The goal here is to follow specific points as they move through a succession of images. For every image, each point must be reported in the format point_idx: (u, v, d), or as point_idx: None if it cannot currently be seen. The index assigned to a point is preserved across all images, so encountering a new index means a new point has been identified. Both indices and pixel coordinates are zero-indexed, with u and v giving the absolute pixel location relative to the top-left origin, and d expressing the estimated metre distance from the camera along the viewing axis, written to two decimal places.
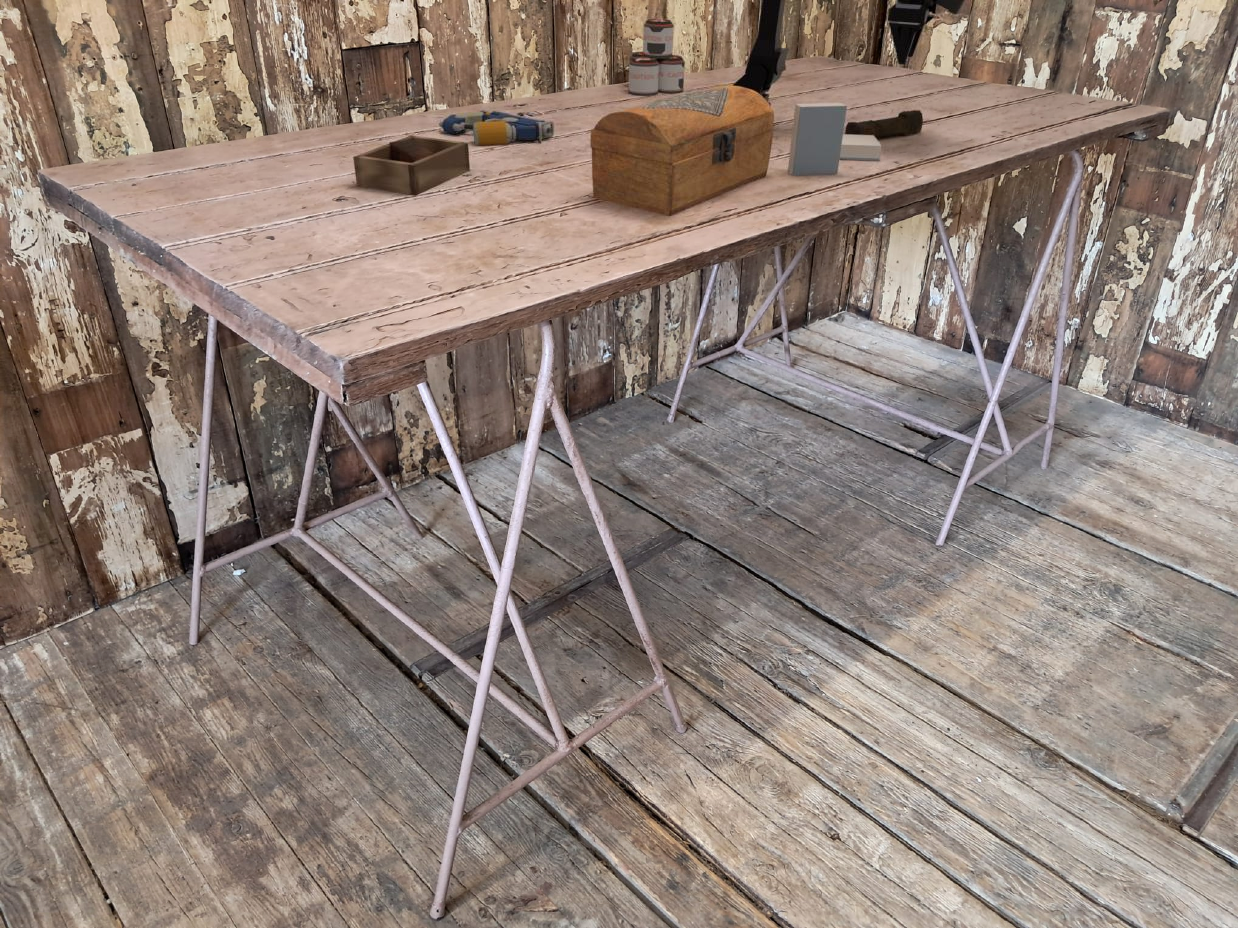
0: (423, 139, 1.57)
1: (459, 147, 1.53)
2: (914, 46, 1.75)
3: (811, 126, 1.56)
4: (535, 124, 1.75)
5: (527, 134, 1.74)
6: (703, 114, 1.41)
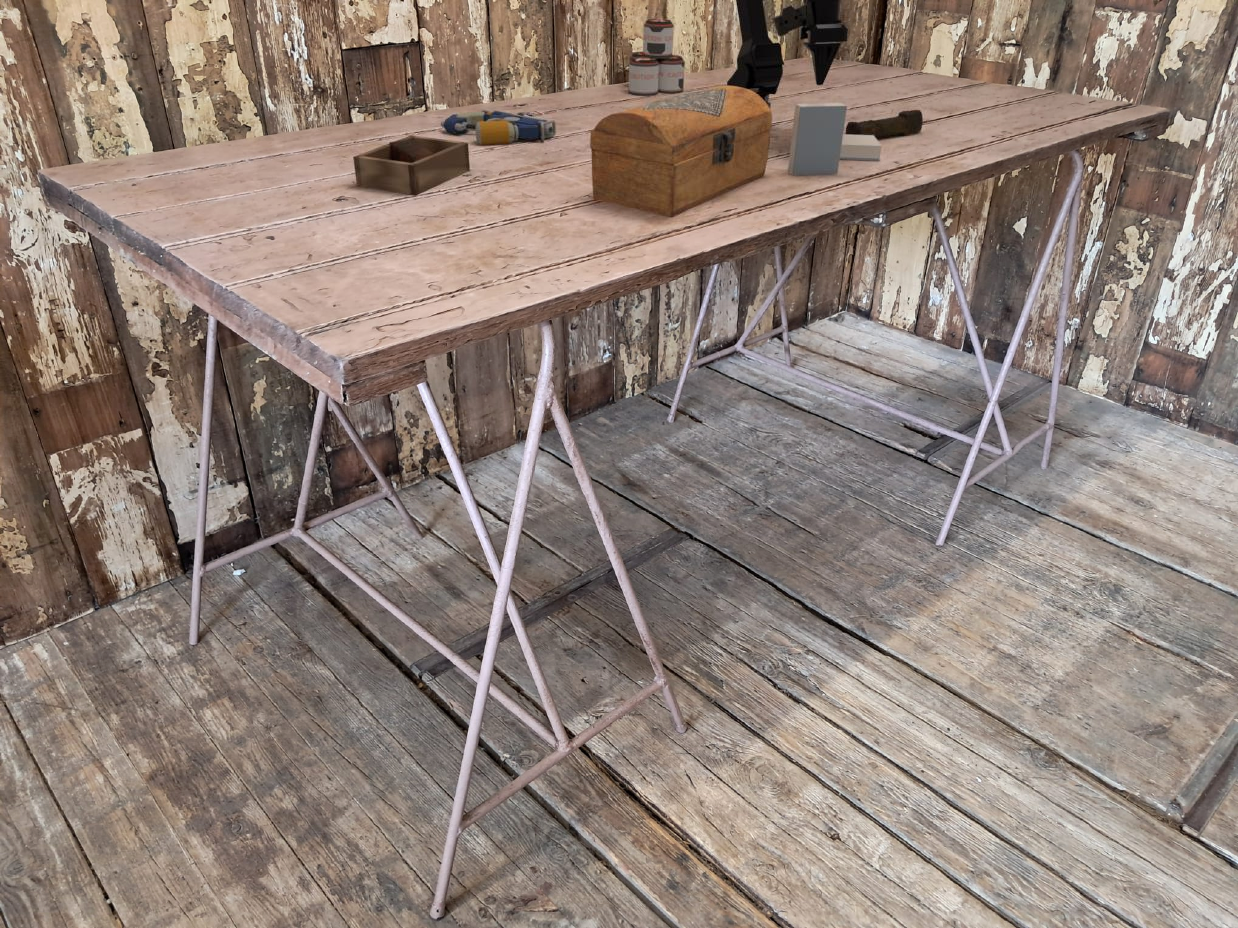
0: (423, 139, 1.57)
1: (459, 147, 1.53)
2: None
3: (811, 126, 1.56)
4: (537, 123, 1.76)
5: (530, 133, 1.74)
6: (703, 115, 1.41)
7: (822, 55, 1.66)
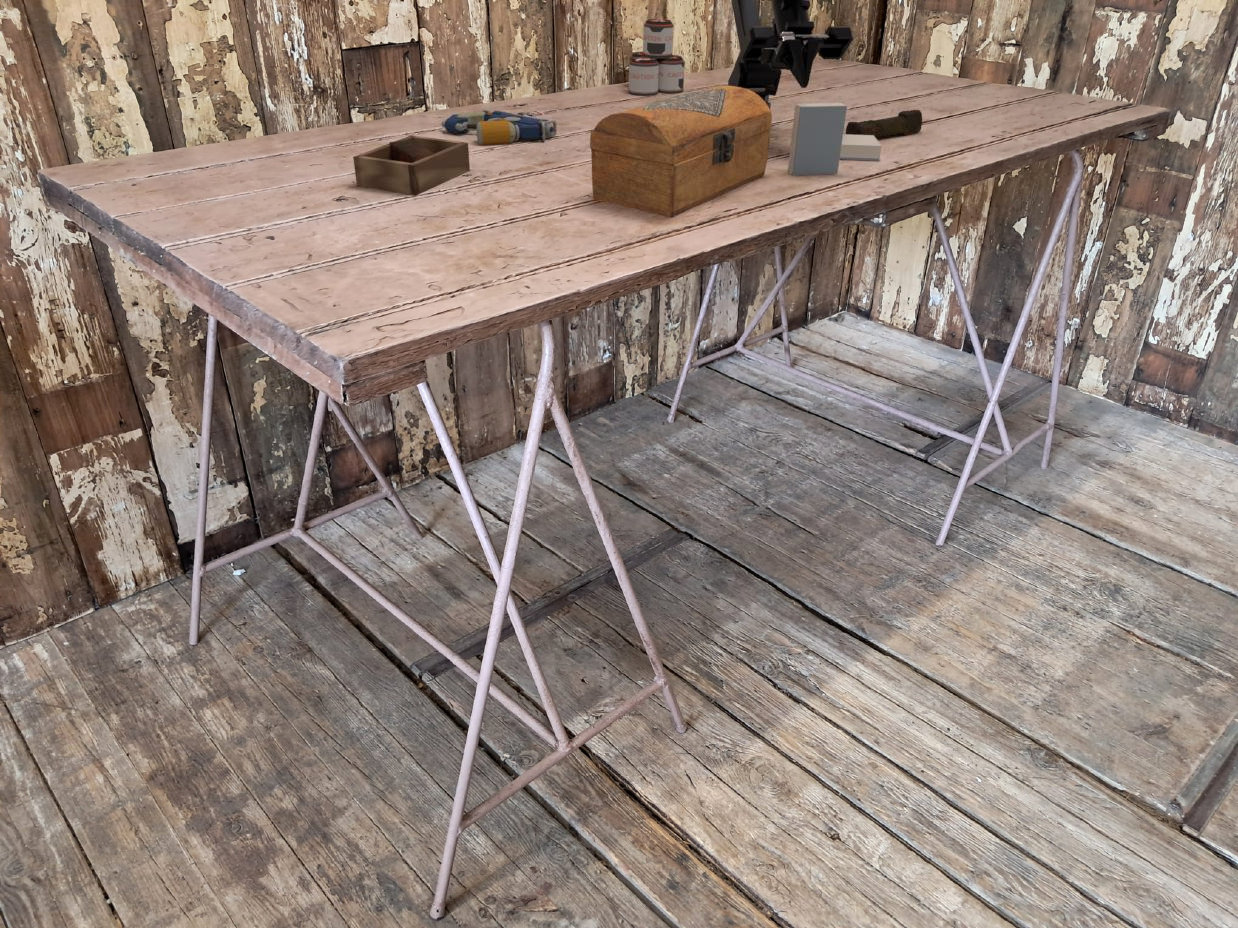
0: (423, 139, 1.57)
1: (459, 147, 1.53)
2: None
3: (811, 126, 1.56)
4: (538, 123, 1.76)
5: (531, 133, 1.75)
6: (702, 115, 1.41)
7: (792, 60, 1.63)
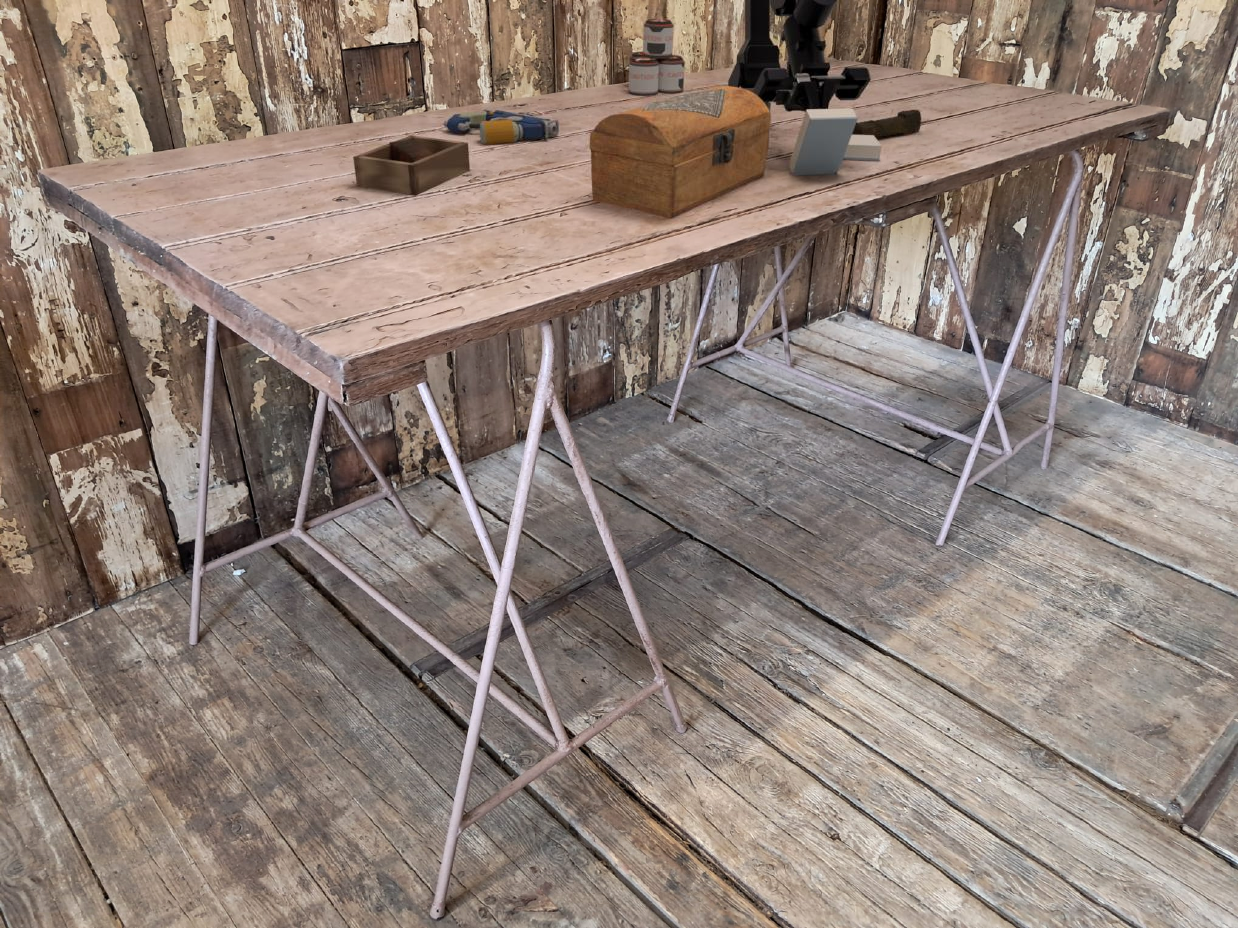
0: (423, 139, 1.57)
1: (459, 147, 1.53)
2: None
3: (818, 135, 1.54)
4: (541, 122, 1.77)
5: (534, 132, 1.75)
6: (702, 116, 1.41)
7: (808, 102, 1.58)
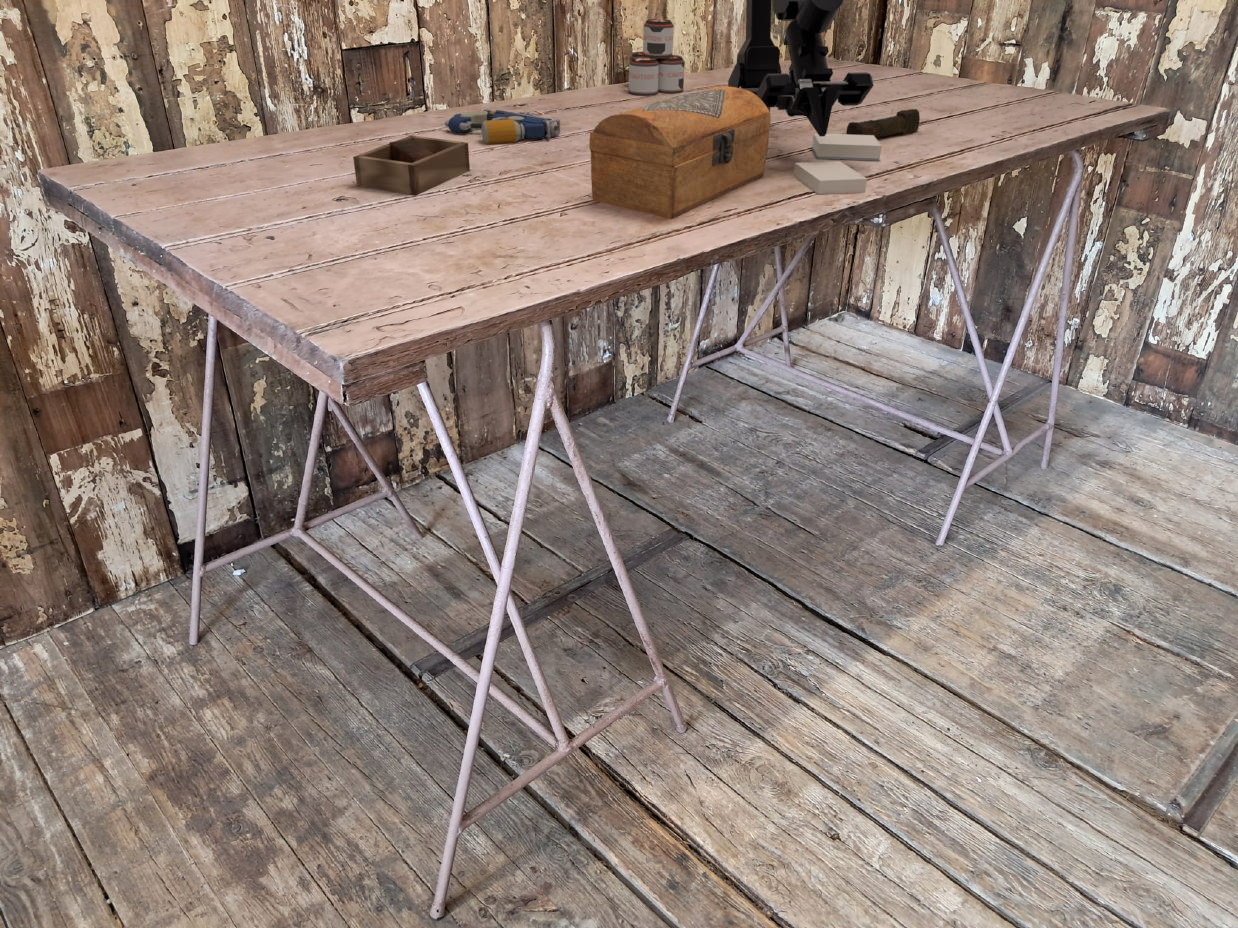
0: (423, 139, 1.57)
1: (459, 147, 1.53)
2: None
3: None
4: (542, 122, 1.77)
5: (536, 132, 1.75)
6: (702, 116, 1.40)
7: (810, 108, 1.57)
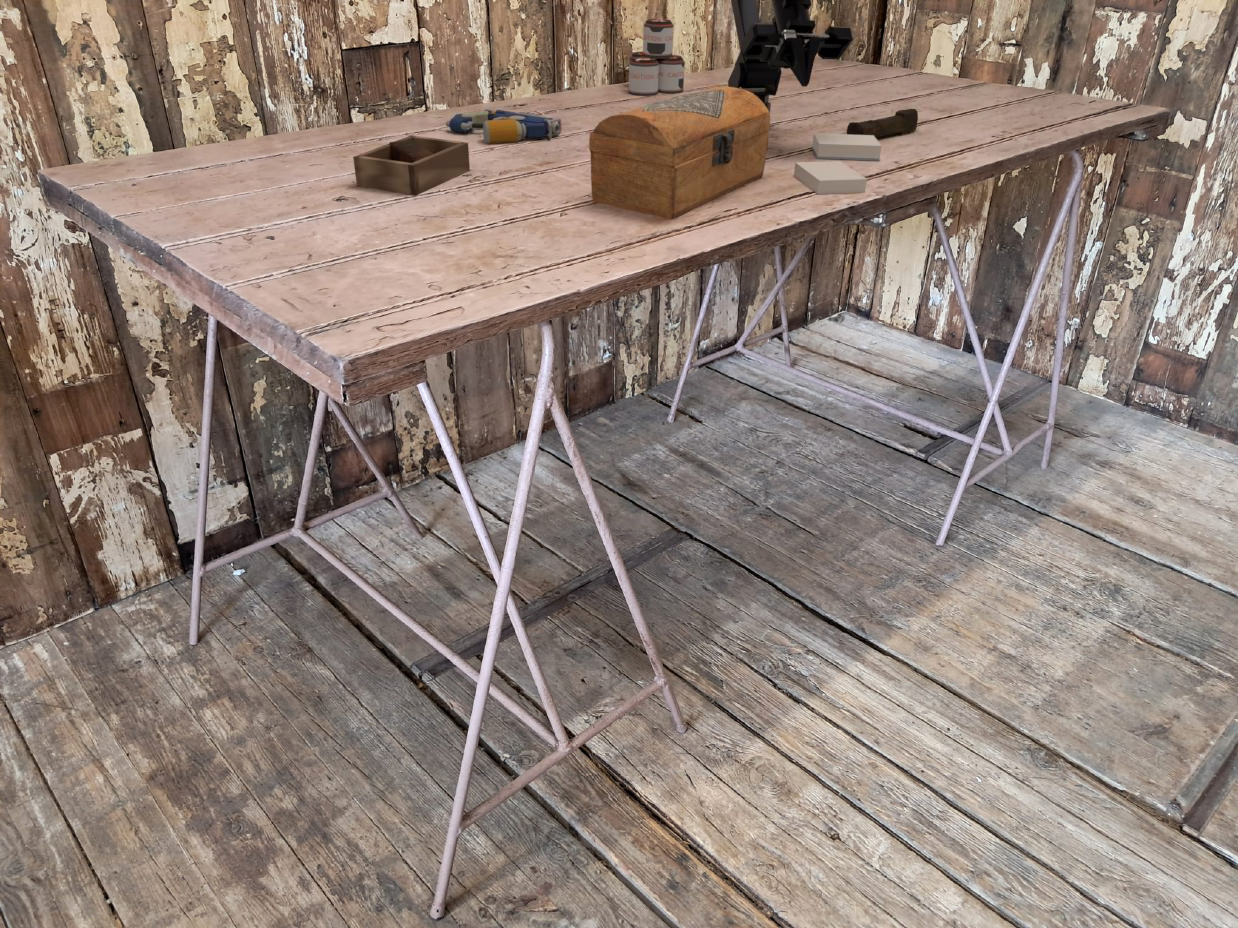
0: (423, 139, 1.57)
1: (459, 147, 1.53)
2: None
3: None
4: (544, 121, 1.77)
5: (537, 131, 1.76)
6: (702, 116, 1.40)
7: (793, 59, 1.63)
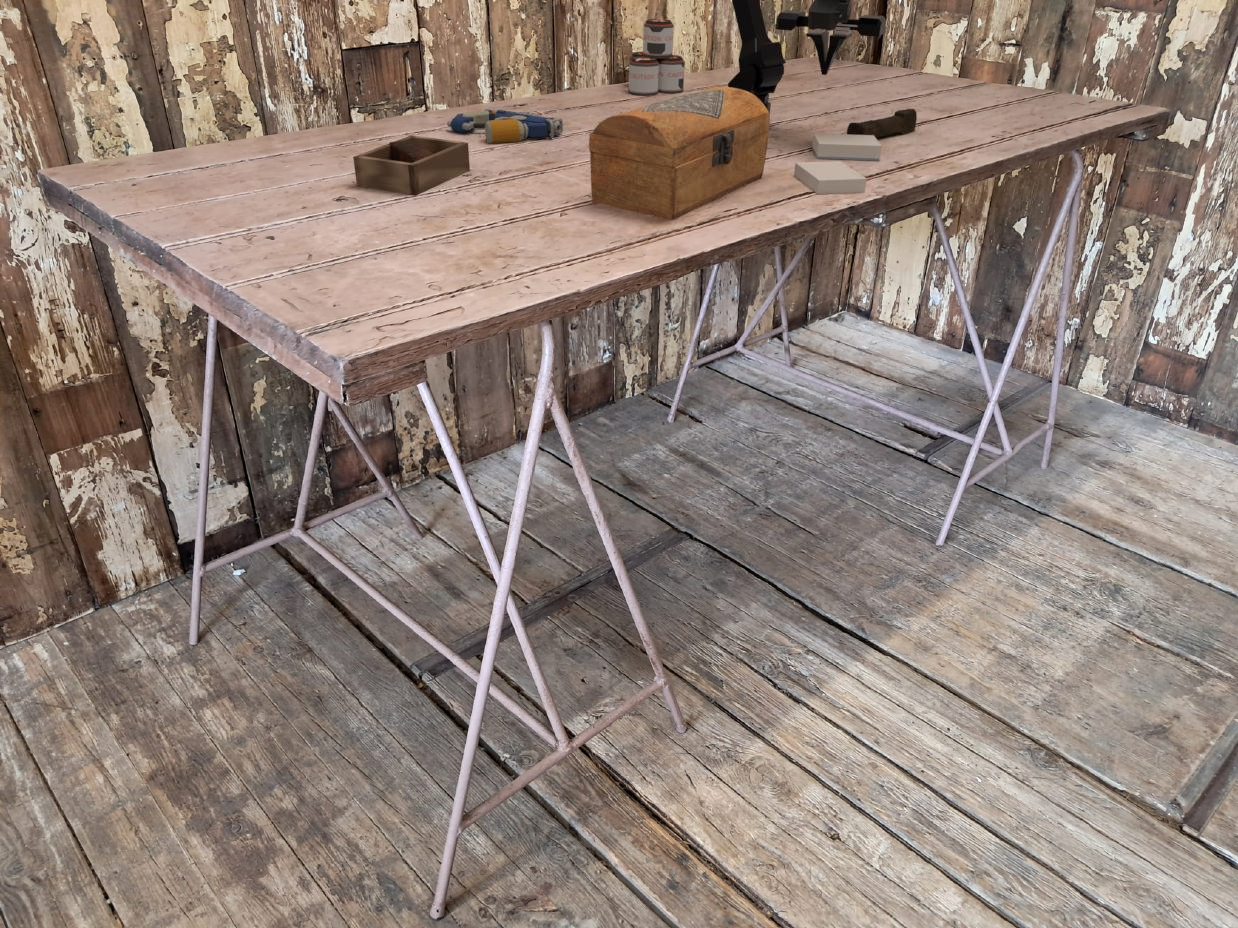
0: (423, 139, 1.57)
1: (459, 147, 1.53)
2: None
3: None
4: (545, 121, 1.77)
5: (539, 131, 1.76)
6: (702, 117, 1.40)
7: None
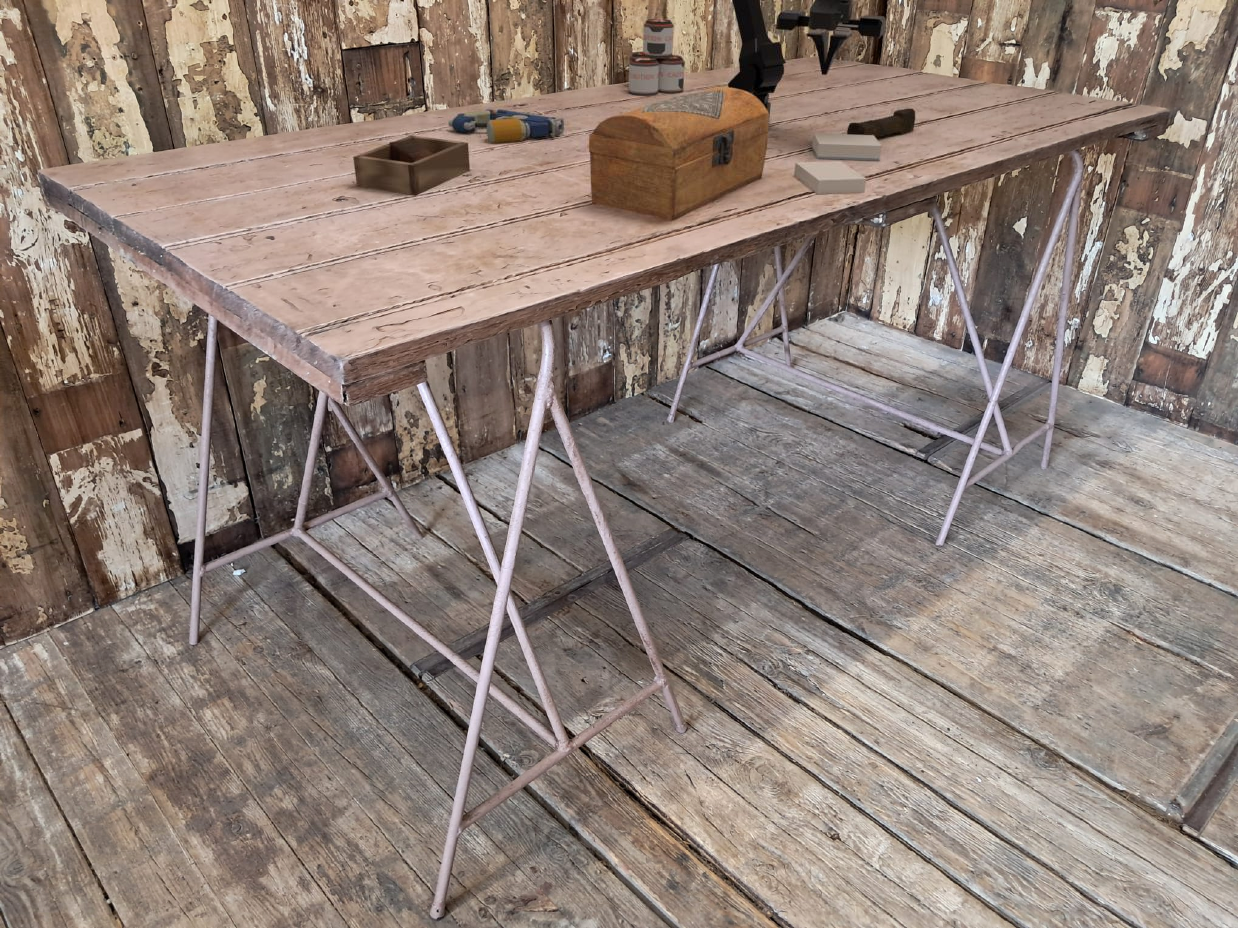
0: (423, 139, 1.57)
1: (459, 147, 1.53)
2: None
3: None
4: (547, 121, 1.78)
5: (541, 131, 1.76)
6: (702, 117, 1.40)
7: None
